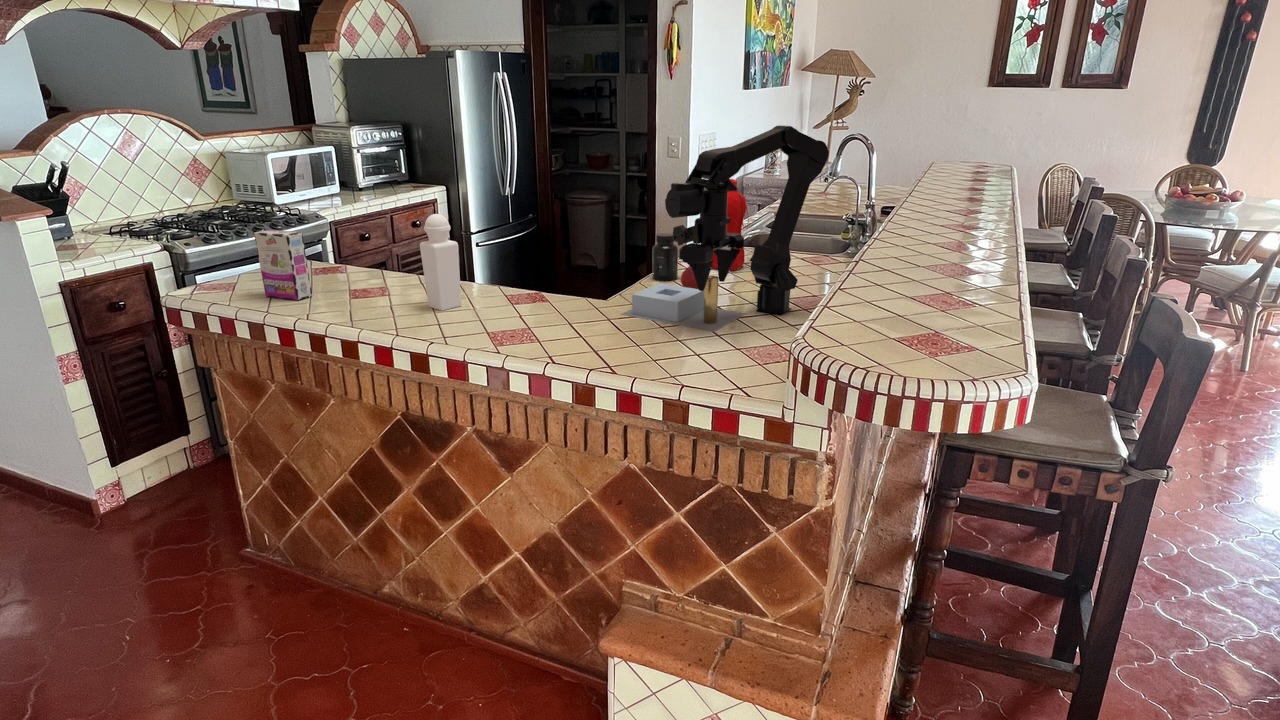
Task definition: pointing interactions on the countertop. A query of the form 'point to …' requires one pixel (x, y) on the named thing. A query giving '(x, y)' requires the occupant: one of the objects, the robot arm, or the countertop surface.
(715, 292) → the brass pin
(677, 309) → the socket block
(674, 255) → the supplement bottle
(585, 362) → the countertop surface
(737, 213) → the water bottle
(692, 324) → the rubber mat
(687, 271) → the onion
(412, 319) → the countertop surface
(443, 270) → the square decanter bottle
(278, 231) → the candy bar box
